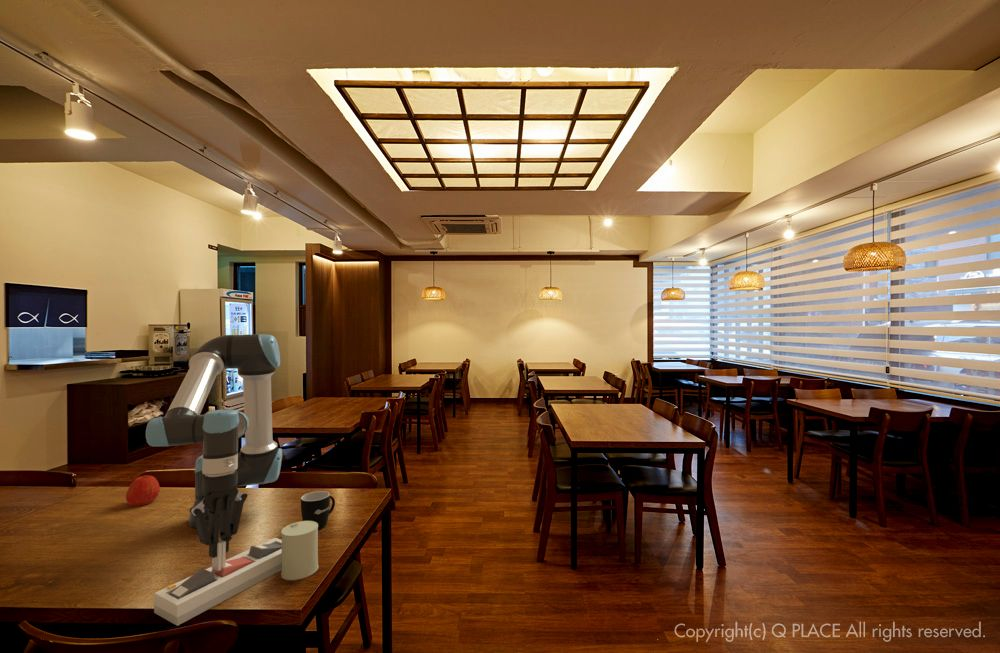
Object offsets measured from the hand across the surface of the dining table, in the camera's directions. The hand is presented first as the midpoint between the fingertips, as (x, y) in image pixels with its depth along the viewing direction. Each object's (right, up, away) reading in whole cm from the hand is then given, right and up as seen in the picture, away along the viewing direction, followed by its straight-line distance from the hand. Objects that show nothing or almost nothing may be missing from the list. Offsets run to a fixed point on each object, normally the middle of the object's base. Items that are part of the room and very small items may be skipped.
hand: (218, 568), depth 107 cm
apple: (-68, -8, +58) cm, 90 cm away
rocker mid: (+2, -1, +3) cm, 4 cm away
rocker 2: (+6, -2, +12) cm, 13 cm away
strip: (+4, -6, +7) cm, 10 cm away
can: (+16, -6, +9) cm, 19 cm away
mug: (+9, -7, +37) cm, 39 cm away
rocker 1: (-3, -1, -5) cm, 6 cm away
